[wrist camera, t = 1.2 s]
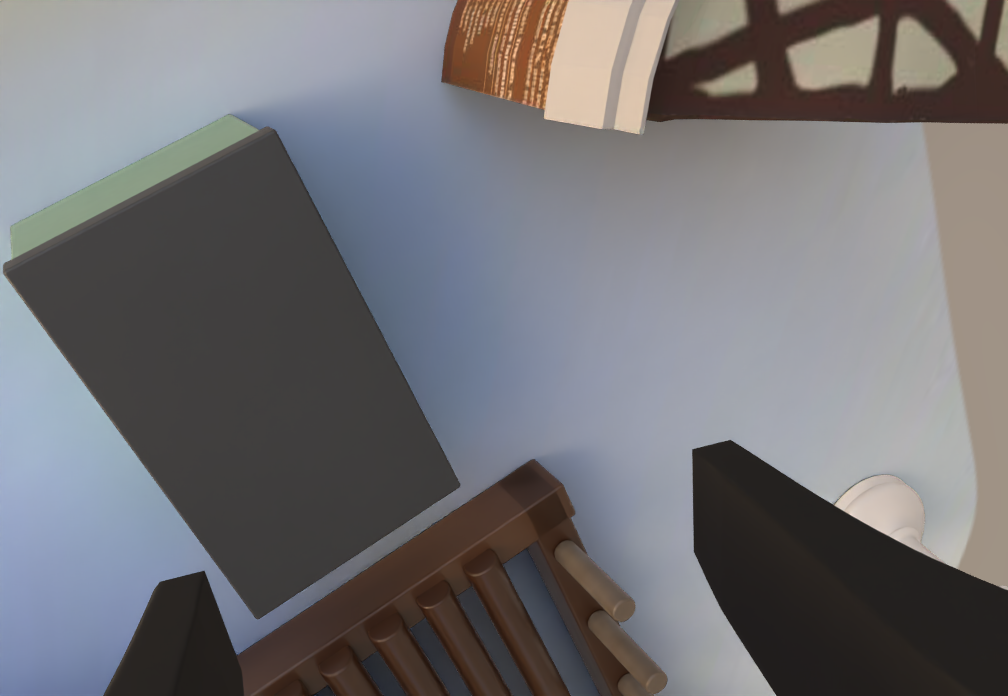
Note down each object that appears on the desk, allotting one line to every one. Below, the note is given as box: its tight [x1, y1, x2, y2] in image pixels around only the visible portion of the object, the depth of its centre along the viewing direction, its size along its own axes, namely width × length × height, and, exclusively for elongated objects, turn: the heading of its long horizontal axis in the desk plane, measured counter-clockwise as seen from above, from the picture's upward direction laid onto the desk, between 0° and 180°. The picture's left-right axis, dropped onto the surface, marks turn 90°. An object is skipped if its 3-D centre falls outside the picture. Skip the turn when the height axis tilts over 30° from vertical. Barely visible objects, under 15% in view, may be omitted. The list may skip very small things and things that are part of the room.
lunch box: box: [3, 114, 460, 619], centre depth 21 cm, size 5×9×4 cm, turn 23°
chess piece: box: [834, 475, 1008, 590], centre depth 32 cm, size 5×5×10 cm
